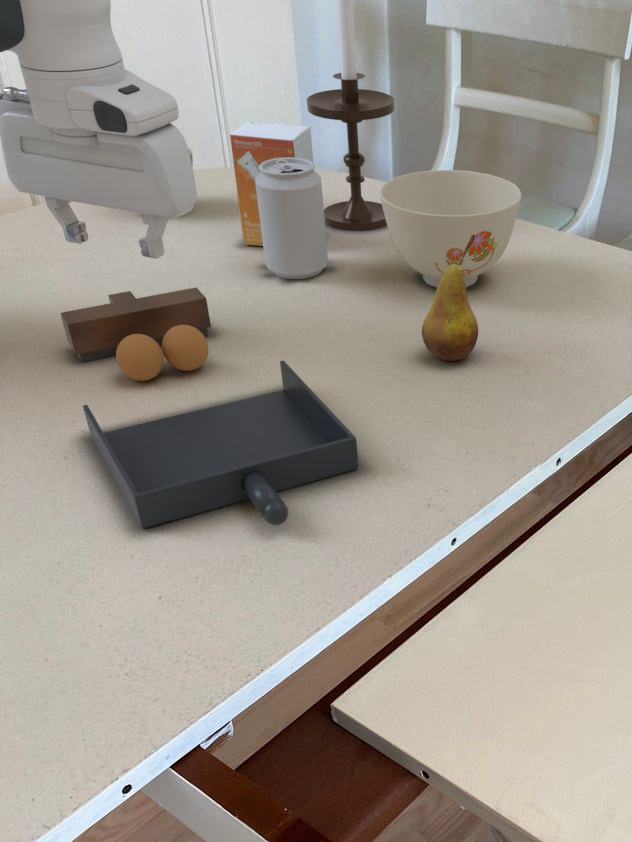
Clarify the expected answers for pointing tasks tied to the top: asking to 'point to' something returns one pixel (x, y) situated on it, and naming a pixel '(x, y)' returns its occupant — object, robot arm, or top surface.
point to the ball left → (139, 357)
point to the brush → (132, 320)
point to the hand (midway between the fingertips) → (115, 248)
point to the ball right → (185, 347)
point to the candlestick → (351, 127)
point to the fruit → (451, 317)
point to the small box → (253, 149)
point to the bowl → (450, 220)
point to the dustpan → (227, 454)
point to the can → (292, 217)
